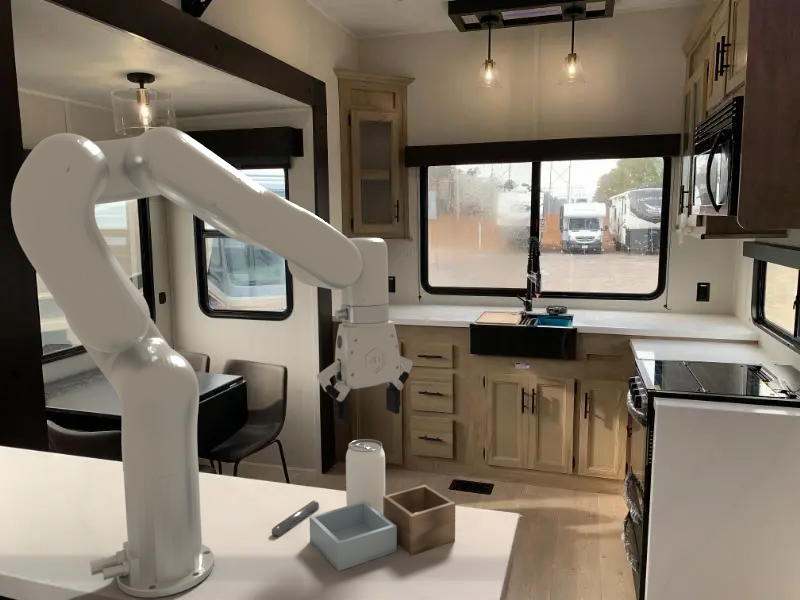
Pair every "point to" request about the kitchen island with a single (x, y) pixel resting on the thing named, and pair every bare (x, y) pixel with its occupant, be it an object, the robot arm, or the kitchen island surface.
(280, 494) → the kitchen island surface
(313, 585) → the kitchen island surface
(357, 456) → the can
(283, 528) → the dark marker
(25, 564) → the kitchen island surface
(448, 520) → the walnut box
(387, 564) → the kitchen island surface
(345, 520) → the light blue tray
